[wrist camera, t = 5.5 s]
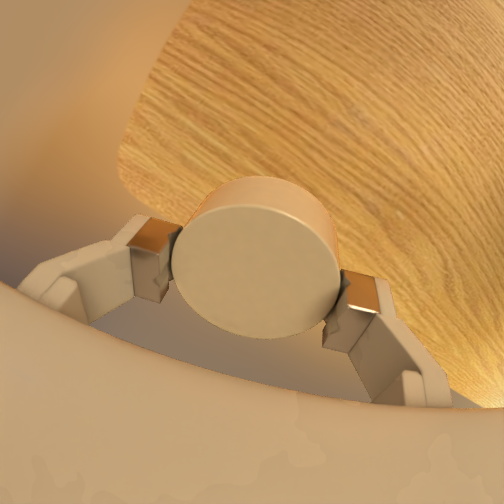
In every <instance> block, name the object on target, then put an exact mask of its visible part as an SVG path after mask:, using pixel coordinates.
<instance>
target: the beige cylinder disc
mask: <svg viewBox="0 0 504 504" xmlns="http://www.w3.org/2000/svg"><path fill="white" fill-rule="evenodd" d="M171 268H172V274H173V278H174V281H175V284H176V286H177V288H178V290H179V292H180V294H181V296H182V297H183V298H184V300H185V301H186V302H187V303H188V305H189V306H190V307H191V308H192V309H193V310H194V311H195V312H196V313H198V315H200V316H201V317H202V318H204V319H205V320H206V321H208V322H210V323H211V324H213V325H215V326H216V327H218V328H221V329H223V330H225V331H227V332H230V333H233V334H236V335H239V336H244V337H249V338H256V339H278V338H285V337H290V336H294V335H297V334H300V333H302V332H304V331H307V330H309V329H311V328H312V327H314V326H315V325H317V324H318V323H319V322H320V321H322V320H323V319H324V318H325V317H326V316H327V315H328V313H329V312H330V311H331V309H332V308H333V306H334V304H335V302H336V300H337V298H338V295H339V290H340V282H341V276H340V263H339V251H338V240H337V233H336V229H335V226H334V223H333V221H332V219H331V216H330V215H329V213H328V211H327V210H326V208H325V207H324V206H323V205H322V204H321V202H320V201H319V200H318V199H317V198H316V197H314V196H313V195H312V194H311V193H310V192H308V191H307V190H305V189H304V188H302V187H300V186H298V185H296V184H294V183H292V182H290V181H287V180H284V179H280V178H276V177H270V176H247V177H241V178H237V179H234V180H231V181H228V182H226V183H224V184H222V185H220V186H219V187H217V188H216V189H215V190H213V191H212V192H211V193H210V194H209V195H208V196H207V197H206V198H205V199H204V200H203V202H202V203H201V204H200V206H199V207H198V208H197V210H196V211H195V213H194V214H193V215H192V217H191V218H190V219H189V221H188V222H187V224H186V225H185V226H184V228H183V229H182V231H181V232H180V234H179V235H178V237H177V239H176V241H175V243H174V246H173V250H172V256H171Z"/></svg>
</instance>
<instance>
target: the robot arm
mask: <svg viewBox="0 0 504 504" xmlns="http://www.w3.org/2000/svg"><path fill="white" fill-rule="evenodd" d="M182 229H183V227H182V226H181V225H177V224H174V223H170V222H167V221H163V220H160V219H156V218H152V217H149V216H145V215H141V214H135V215H134V216H133V218H131V219H130V220H129V221H128V222H127V223H126V224H125V225H124V226H123V227H122V228H121V229H120V230H119V232H118V233H117V234H116V235H115V236H114V237H113V238H112V239H111V240H110V241H108V240H103V241H101V242H98V243H95V244H92V245H89V246H86V247H83V248H80V249H78V250H75V251H72V252H69V253H66V254H63V255H61V256H58V257H55V258H53V259H50V260H47V261H45V262H42V263H39V264H38V265H37V266H36V267H35V268H34V269H33V270H32V272H31V273H30V274H29V275H28V276H27V277H26V278H25V279H24V280H23V281H22V282H21V283H20V284H19V286H18V287H17V288H16V289H14V288H12V287H10V286H9V285H7V284H5V283H4V282H2V281H0V504H504V408H480V409H453V404H452V398H451V393H450V388H449V383H448V378H447V374H446V373H445V372H444V370H443V369H442V368H441V366H440V365H439V364H438V363H437V361H436V360H435V359H434V358H433V356H432V355H431V354H430V353H429V351H428V350H427V349H426V348H425V347H424V345H423V344H422V343H421V342H420V340H419V339H418V338H417V337H416V336H415V334H414V333H413V332H412V331H411V330H410V329H409V327H408V326H407V325H406V324H405V323H404V321H403V320H402V319H399V318H397V314H396V310H395V305H394V301H393V297H392V293H391V289H390V285H389V282H388V281H387V280H386V279H382V278H378V277H373V276H368V275H364V274H360V273H356V272H352V271H349V270H345V269H341V270H340V276H341V282H340V290H339V295H338V298H337V300H336V302H335V304H334V306H333V308H332V309H331V311H330V312H329V313H328V315H327V316H326V317H325V318H324V319H323V320H324V321H325V323H326V325H325V327H324V329H323V337H322V338H323V339H322V347H323V348H327V349H331V350H335V351H339V352H343V353H348V356H349V358H350V360H351V362H352V363H353V365H354V367H355V369H356V371H357V373H358V375H359V377H360V379H361V381H362V382H363V384H364V386H365V388H366V390H367V392H368V394H369V396H370V398H371V400H372V402H371V403H368V402H360V401H353V400H346V399H339V398H332V397H326V396H320V395H315V394H309V393H304V392H299V391H293V390H289V389H284V388H279V387H275V386H270V385H266V384H262V383H258V382H253V381H249V380H245V379H242V378H238V377H234V376H230V375H227V374H223V373H219V372H216V371H212V370H209V369H206V368H202V367H199V366H196V365H192V364H189V363H186V362H183V361H180V360H177V359H174V358H171V357H168V356H165V355H162V354H159V353H156V352H154V351H151V350H148V349H145V348H143V347H140V346H137V345H134V344H132V343H129V342H127V341H124V340H122V339H119V338H117V337H114V336H112V335H109V334H107V333H104V332H102V331H100V330H97V329H95V328H93V327H91V326H90V325H89V324H90V323H92V322H94V321H95V320H97V319H99V318H100V317H102V316H104V315H105V314H107V313H109V312H110V311H112V310H113V309H115V308H117V307H119V306H120V305H122V304H124V303H125V302H127V301H129V300H130V299H132V298H134V296H137V297H140V298H143V299H147V300H150V301H153V302H157V303H161V301H162V299H163V298H164V296H165V294H166V292H167V291H168V289H169V281H171V280H173V279H174V278H173V274H172V268H171V256H172V250H173V246H174V243H175V241H176V239H177V237H178V235H179V234H180V232H181V231H182Z"/></svg>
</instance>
